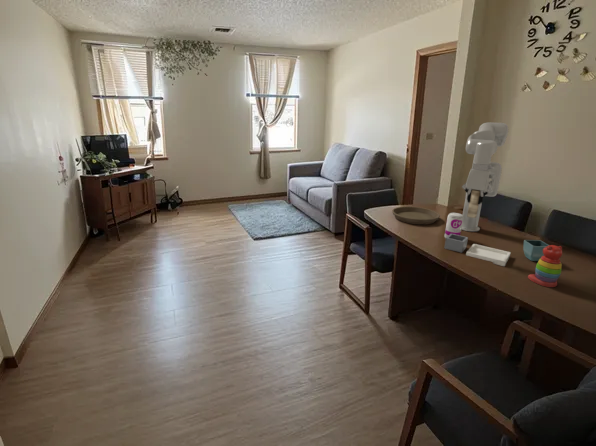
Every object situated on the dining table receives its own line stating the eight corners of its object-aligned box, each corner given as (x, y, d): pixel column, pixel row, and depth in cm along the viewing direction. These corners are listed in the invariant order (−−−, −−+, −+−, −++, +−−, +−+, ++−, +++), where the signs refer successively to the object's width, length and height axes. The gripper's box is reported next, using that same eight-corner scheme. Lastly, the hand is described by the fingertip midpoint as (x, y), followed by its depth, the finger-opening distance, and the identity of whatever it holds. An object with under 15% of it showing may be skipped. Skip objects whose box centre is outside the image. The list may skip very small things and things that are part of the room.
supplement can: (460, 242, 206) (465, 217, 201) (445, 240, 207) (449, 216, 202) (457, 237, 213) (461, 212, 208) (443, 235, 215) (446, 211, 210)
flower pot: (519, 255, 190) (523, 239, 187) (536, 255, 189) (540, 240, 186) (529, 262, 181) (533, 246, 178) (547, 263, 181) (551, 246, 178)
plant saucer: (396, 209, 266) (397, 203, 264) (441, 215, 253) (442, 209, 252) (386, 221, 239) (387, 214, 238) (436, 229, 227) (437, 222, 225)
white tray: (472, 247, 198) (473, 243, 197) (509, 256, 188) (510, 252, 187) (465, 256, 187) (466, 252, 186) (504, 266, 176) (505, 261, 176)
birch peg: (468, 214, 189) (473, 188, 185) (477, 216, 187) (482, 190, 182) (465, 216, 186) (470, 190, 182) (474, 218, 184) (480, 191, 179)
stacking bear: (549, 277, 166) (559, 241, 161) (563, 288, 157) (574, 250, 151) (525, 276, 167) (534, 240, 161) (538, 287, 157) (548, 249, 151)
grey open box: (449, 244, 202) (450, 233, 199) (466, 248, 196) (468, 237, 194) (444, 249, 195) (446, 237, 193) (461, 254, 190) (463, 242, 187)
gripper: (501, 168, 176) (494, 204, 182) (465, 164, 186) (459, 198, 192) (498, 170, 170) (490, 207, 176) (460, 166, 180) (454, 201, 186)
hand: (474, 202), depth 184 cm, fingers closed on birch peg, 4 cm apart
